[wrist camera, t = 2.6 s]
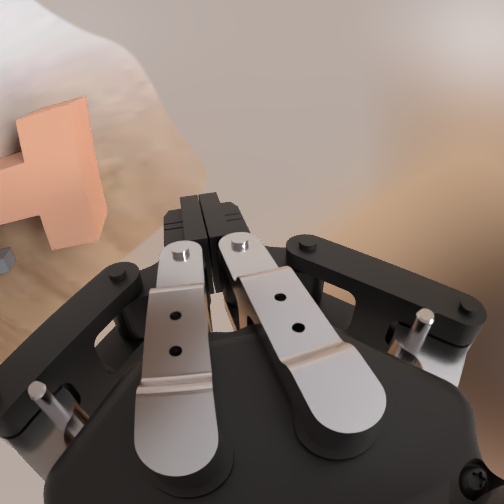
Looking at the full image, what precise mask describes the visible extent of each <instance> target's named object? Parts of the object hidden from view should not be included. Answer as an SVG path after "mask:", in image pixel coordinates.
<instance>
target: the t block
mask: <svg viewBox="0 0 504 504" xmlns="http://www.w3.org/2000/svg"><path fill="white" fill-rule="evenodd" d="M16 125H17V130H18V135H19V140H20V145H21V149H22V151H21V152H18V153H15V154H12V155H9V156H6V157H3V158H0V225H2V224H6V223H10V222H14V221H17V220H21V219H25V218H29V217H33V216H38V215H40V218H41V221H42V224H43V227H44V230H45V233H46V235H47V238H48V241H49V244H50V246H51V249H52V250H56V249H61V248H66V247H72V246H77V245H82V244H87V243H93V242H98V241H99V240H100V236H101V233H102V229H103V225H104V222H105V218H106V215H107V212H108V211H107V206H106V202H105V198H104V194H103V189H102V185H101V180H100V175H99V171H98V166H97V161H96V156H95V150H94V145H93V139H92V133H91V127H90V121H89V114H88V107H87V100H86V96H84V97H80V98H76V99H73V100H69V101H65V102H62V103H58V104H55V105H51V106H48V107H45V108H41V109H39V110H37V111H35V112H32V113H30V114H28V115H26V116H24V117H22V118H20V119H18V120H16Z"/></svg>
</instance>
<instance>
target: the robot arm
mask: <svg viewBox="0 0 504 504" xmlns="http://www.w3.org/2000/svg"><path fill="white" fill-rule="evenodd" d="M180 203H181V209H177V210H170V211H168V212H167V214H166V215H165V216H164V248H163V249H162V250H161V252H160V257H159V261H158V262H157V263H156V264H154V265H152V266H150V267H148V268H146V269H143V270H140V271H139V268H138V267H137V265H135V264H133V263H130V262H119V263H115V264H112V265H110V266H108V267H106V268H105V269H104V270H103V271H101V272H100V273H99V274H98V275H97V276H95V277H94V278H93V279H92V280H91V281H90V282H88V283H87V284H86V285H85V286H84V287H83V288H82V289H80V290H79V291H78V292H77V293H76V294H75V295H74V296H72V297H71V298H70V299H69V300H68V301H67V302H66V303H65V304H64V305H62V306H61V307H60V308H59V309H58V310H57V311H56V312H55V313H54V314H53V315H51V316H50V317H49V318H48V319H47V320H46V321H45V322H44V323H43V324H42V325H41V326H40V327H39V328H38V329H36V330H35V331H34V332H33V333H32V334H31V335H30V336H29V337H28V338H27V339H26V340H25V341H24V342H23V343H22V344H21V345H20V346H19V347H18V348H17V349H16V350H15V351H14V352H13V353H12V354H11V355H10V356H9V357H8V358H7V359H6V360H5V361H4V362H3V363H2V364H1V365H0V438H1V439H3V440H4V441H5V442H6V443H7V444H9V445H10V446H11V447H13V448H14V449H15V450H16V451H17V452H18V453H19V454H20V455H21V456H22V457H23V459H24V460H25V461H26V462H27V463H28V464H29V465H30V466H31V467H32V468H33V469H34V470H35V471H36V472H37V473H38V474H39V475H40V476H41V477H42V478H43V479H44V480H45V485H44V504H504V480H503V479H501V478H499V477H498V476H496V475H495V474H493V473H492V472H491V471H490V470H489V469H488V468H487V466H486V465H485V464H484V462H483V459H482V456H481V453H480V450H479V446H478V442H477V435H476V425H475V416H474V412H473V409H472V407H471V404H470V402H469V401H468V399H467V397H466V396H465V395H464V393H463V392H462V391H461V390H460V389H459V388H458V384H459V381H460V377H461V373H462V370H463V366H464V362H465V358H466V353H467V351H468V349H469V348H470V346H471V345H472V343H473V341H474V339H475V338H476V336H477V334H478V333H479V331H480V329H481V328H482V326H483V324H484V322H485V320H486V317H487V314H486V310H485V308H484V307H483V305H482V304H481V303H480V302H479V301H478V300H477V299H476V298H474V297H472V296H470V295H468V294H465V293H463V292H460V291H458V290H456V289H453V288H451V287H448V286H446V285H443V284H441V283H438V282H436V281H433V280H431V279H428V278H426V277H423V276H421V275H418V274H416V273H413V272H411V271H408V270H405V269H403V268H400V267H398V266H395V265H393V264H390V263H387V262H385V261H382V260H379V259H377V258H374V257H371V256H369V255H366V254H363V253H361V252H358V251H356V250H353V249H350V248H347V247H345V246H342V245H339V244H337V243H333V242H331V241H328V240H326V239H323V238H320V237H317V236H314V235H305V234H304V235H297V236H294V237H292V238H290V239H289V240H288V241H287V243H286V248H279V247H268V246H264V245H263V243H262V242H261V240H260V239H259V237H257V236H256V235H254V234H251V233H250V231H249V229H248V227H247V225H246V223H245V221H244V219H243V217H242V214H241V213H240V210H239V208H238V206H236V205H234V204H233V203H231V202H225V203H220V201H219V199H218V196H217V193H216V192H214V193H206V194H199V200H198V196H197V195H193V196H186V197H180ZM212 278H213V280H212ZM324 281H325V282H327V283H330V284H332V285H335V286H337V287H339V288H342V289H344V290H346V291H349V292H350V293H351V294H352V295H353V296H354V297H355V300H356V305H355V306H354V305H351V304H349V303H347V302H344V301H342V300H340V299H338V298H335V297H333V296H331V295H328V294H326V293H324V292H323V285H324ZM213 282H214V286H215V290H216V293H219V292H223V295H224V303H225V309H226V312H227V314H228V317H229V319H230V322H231V324H232V327H233V330H234V332H213V328H212V320H211V310H210V303H211V297H210V294H213V293H214V288H213ZM112 320H114V322H115V325H116V326H115V327H114V328H113V329H112V330H111V331H110V332H109V333H108V334H107V336H105V338H104V339H103V340H102V341H101V342H100V343H99V344H98V345H97V346H96V347H94V343H95V339H96V337H97V336H98V334H99V333H100V332H101V331H102V330H103V329H104V328H105V327H106V326H107V325H108V324H109V323H110V322H111V321H112Z"/></svg>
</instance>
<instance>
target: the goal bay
mask: <svg viewBox="0 0 504 504" xmlns="http://www.w3.org/2000/svg"><path fill="white" fill-rule="evenodd" d="M15 261H16V259H15V256H14V254H13V252H12V249H11V247H9V248H4V249H0V274H3V273H8V272H10V270H11V269H12V267H13V265H14V263H15Z"/></svg>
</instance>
